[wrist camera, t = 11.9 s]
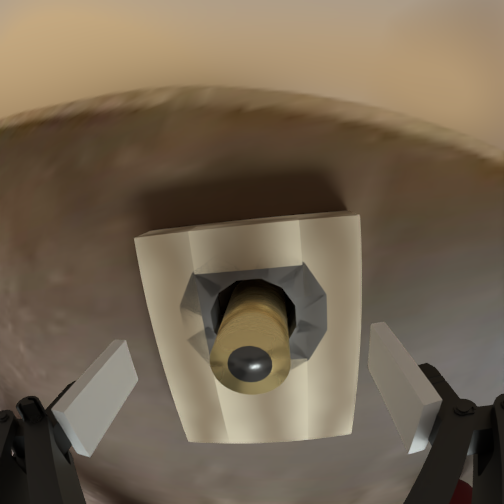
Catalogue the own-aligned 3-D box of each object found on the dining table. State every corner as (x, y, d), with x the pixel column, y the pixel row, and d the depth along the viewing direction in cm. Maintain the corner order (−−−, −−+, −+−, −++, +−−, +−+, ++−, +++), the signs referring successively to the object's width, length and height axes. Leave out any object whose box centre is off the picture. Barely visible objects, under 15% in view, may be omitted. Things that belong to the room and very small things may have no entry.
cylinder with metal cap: (234, 329, 22) (217, 396, 15) (226, 279, 22) (202, 332, 14) (287, 324, 22) (293, 392, 14) (282, 273, 21) (287, 326, 13)
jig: (195, 419, 25) (188, 441, 22) (151, 230, 21) (134, 238, 18) (345, 411, 24) (351, 433, 21) (347, 210, 20) (359, 215, 17)
